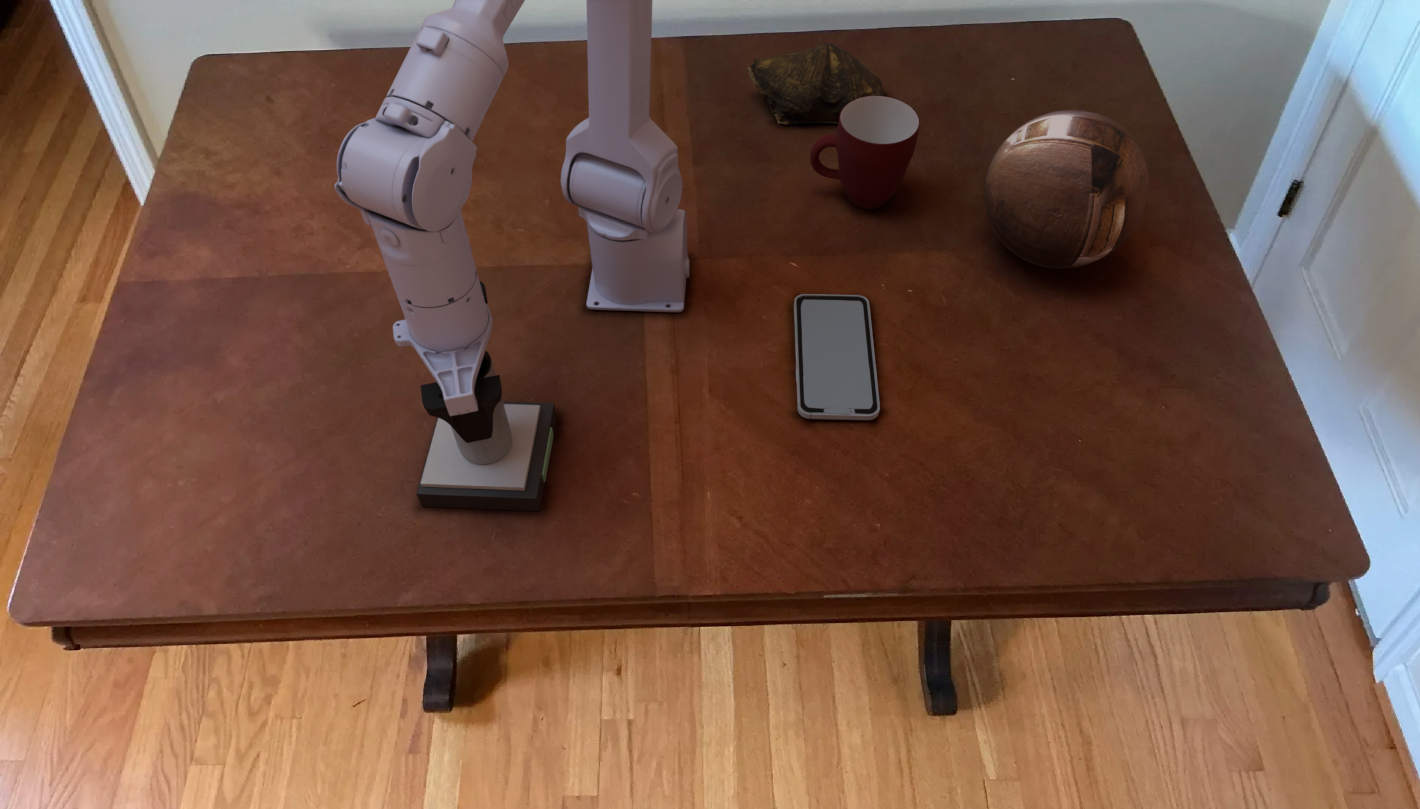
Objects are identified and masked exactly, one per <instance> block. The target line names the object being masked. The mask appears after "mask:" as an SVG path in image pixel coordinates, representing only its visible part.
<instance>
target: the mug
mask: <svg viewBox="0 0 1420 809" xmlns="http://www.w3.org/2000/svg"><path fill="white" fill-rule="evenodd" d="M920 124H921V122H920V117H919V115H918V113H917V112H916V110H915V109H913V107H911V106H910V105H909V104H907V103H906V102H904V101H902V100H900V99H897V98H894V97H890V96H885V95H884V96H867V97H862V98H858V99H855V100H853V101H851V102H849V103H848V104H847V105H846V106H845V107H844V108H843V109H842V110H841V113H840V116H839V123H838V124H837V128H836V133H834V134H831V133H830V134H825V135H823V136H821V137H819V138H818V139H816V141H815V142H814V144H813V145H812V147H811V149H810V154H809V162H810V165H811V167H812V169H813V170H814V171H815V172H816V173H817V174H818V175H820V176H822V177H824V178H828V179H834V180H839V181H840V184H841V186H842V188H843V189H844V191H845V193H846V195H847V197H848V199H849V200H850V202H851V203H852V204H853V205H854V206H856V207H858V208H861V209H866V210H874V209H877V208H880V207H882V206H883V205H884V204H886V203H887V202H888V201H889V199H891V198H892V196H893V195H894V194H895V193H896V192H897V190H898V189H899V188H900V186H901V185H902V182H903V179H904V177H905V175H906V172H907V170H908V167H909V165H910V164H911V163H910V162H911V160H912V159H913V156H914V154H915V150H916V146H917V142H918V137H919V132H920ZM827 148H835V149H836V154H837V162H838V163H837V164H838V169H835V168H832V167H828V166H826V165H824V164H823V163H822V162H821V160H820V154H821V153H822V151H823V150H824V149H827Z"/></svg>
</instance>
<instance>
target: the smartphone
mask: <svg viewBox="0 0 1420 809" xmlns="http://www.w3.org/2000/svg"><path fill="white" fill-rule="evenodd" d="M870 307H871V306H870V301H869V300H868V298H867V297H866V296H864V295H860V294H825V293H823V294H820V293H819V294H817V293H815V294H812V293H801V294H799V295H797V296H796V297H795V298H794V299H793V320H794V321H793V322H794V348H795V350H794V351H795V383H796V401H797V402H796V404H797V405H796V406H797V412H798V414H799V415H800V416H801V417H802V418H804V419H807V420H840V421H841V420H842V421H843V420H847V421H848V420H849V421H873V420H874V419H876V418H877V417H878V416H879V414H880V410H881V405H880V404H881V403H880V394H879V384H878V374H877V373H878V372H877V364H876V356H875V347H874V337H873V326H872V318H871V317H872V316H871V308H870Z"/></svg>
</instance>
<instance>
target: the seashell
mask: <svg viewBox="0 0 1420 809" xmlns="http://www.w3.org/2000/svg"><path fill="white" fill-rule="evenodd" d="M746 69H747V71H748V75H749V76H750V80H751V82H752V84H753V85H754V86H755V87H756V88H757V90H758V91H759V92H760V94H759V95H760V97H762V96H763V97H764V98H765V100H766V102H767V105H768V108H769V110H770V112H771V114H772V115H773V117H774V118H775V119H776V121H777V123H778V124H779V125H792V124H794V125H797V124H835V125H838V123H839V116H840V113H841V110H842V109H843V108H844V107H845V106H846V105H847V104H848V103H849V102H851V101H853V100H855V99H858V98H862V97H867V96H885V95H884V94H885V93H884V90H883V83H882V80H881V78H879V77H878V76H877V75H875V74H874V73H872V72H871V70H870V69H869V68H867V67H866V66H865V65H864V64H863V63H862V62H860V61H859V60H858V59H857V58H856V57H854V56H853V55H852V54H851V53H850V52H848V51H846V50H844V49H843V48H841V47H839V46H837V45H835V44H833V43H830V42H824V43H820V44H817V45H814V46H812V47H809V48H807V49H803V50H800V51H799V50H798V51H794V52H790V53H783V54H777V55H773V56H771V55H770V56H767V57H756V58H755V59H753V63H752V64H751V65H750V66H748V67H747V68H746Z"/></svg>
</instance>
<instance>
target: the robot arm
mask: <svg viewBox="0 0 1420 809" xmlns="http://www.w3.org/2000/svg"><path fill="white" fill-rule="evenodd" d="M525 1H526V0H454V1H453V4H452V7H451V8H448V9H446V10H443V11H438V12H435V13H432V14H429V15H428V16H426V17H425V18H424V19H423V22H422V23H421V26H420V28H419V29H418V31H417V34H416V35H415V38H414V40H413V42H412V44H411V46H410V48H409V50H408V52H407V53H406V56H405V58H404V60H403V62H402V64H401V66H400V67H399V70H398V72H397V74H396V76H395V78H394V80H393V82H392V84H391V86H390V88H389V90H388V92H387V94H386V96H385V98H384V99H383V101H382V103H381V105H380V107H379V109H378V111H377V113H376V115H375V117H373V118H371V119H368V120H366V121H364V122H361V123H359V124H357V125H355V126H354V127H353V128H351V129H350V130H349V132H347V134H346V135H345V137H344V138H343V140H342V142H341V144H340V147H339V149H338V152H337V157H336V175H337V181H335V183H334V186H333V187H334V190H335V193H336V194H337V195H338V197H339V199H341V201H343V202H344V203H345V204H347V205H348V206H351V207H354V208H357V210H358V211H359V212H360V214H361V216H362V220H363V222H364V224H365V225H367V226H371V229H372V232H373V234H374V238H375V240H376V243H377V246H378V248H379V251H380V254H381V255H382V259H383V262H384V264H385V268H386V270H387V273H388V276H389V278H390V282H391V284H392V287H393V289H394V293H395V296H396V297H397V301H398V303H399V306H400V309H401V311H402V314H403V317H404V319H400V320H397V321H395V322H394V323H393V325H392V334H393V339H394V342H395V345H396V346H398V347H402V348H403V347H412V348H413V349H414V350H415V352H416V353H417V355H418V356H419V359H420V360H421V361H422V362H423V364H424V365H425V367H426V368H427V370H428V371H429V373H430V374H431V376H432V377H433V379H434V382H429V383H425V384H421V385H420V394H421V402H422V405H423V408H424V410H425V411H426V412H427V414H428V415H429V416H431V417H434V418H436V419H437V418H440V419H442V420H444V421H446V422H447V423H448V424H449V425H450V426H451V427H452V428H453V429H454V430H455V431H456V432H457V434H458V435H459V436H460V437H461V438H462V439H463V440H464V441H465V442H466V443H470V442H475V441H480V440H485V439H490V438H491V437H492V433H493V413H494V409H495V407H496V406H497V404H498V403H499V402H500V401H501V396H502V395H503V388H502V382H501V375H500V374H496V375H495V376H490V377H485V378H480V379H477V375H478V372H479V369H480V366H481V363H482V360H483V356H484V353H485V350H486V351H487V348H488V347H487V346H488V343H489V340H490V337H491V334H492V332H493V327H494V326H493V324H494V323H493V322H494V321H493V316H492V313H491V310H490V308H489V305H488V296H487V288H486V285H485V283H484V282H483V281H481V280H480V278H479V274H478V270H477V266H476V263H475V258H474V256H473V251H472V247H471V243H470V239H469V235H468V232H467V229H466V225H465V221H464V217H463V213H462V209H463V208H464V206H465V204H466V203H467V201H468V199H469V195H470V192H471V188H472V182H473V180H472V179H473V166H474V162H475V159H476V157H477V151H478V147H477V145H476V144H475V143H474V142H473V141H474V139H475V137H476V135H477V133H478V131H479V128H480V127H481V125H482V123H483V121H484V119H485V116H486V115H487V112H488V111H489V108H490V107H491V104H492V102H493V100H494V98H495V96H496V94H497V92H498V90H499V88H500V86H501V84H502V81H503V80H504V77H505V76H506V73H507V71H508V69H509V63H510V62H509V57H508V54H507V50H506V48H505V43H504V36H505V34H506V32H507V31H508V29H509V28H510V26H511V24H512V22H513V21H514V19H515V18H516V16H517V14H518V13H519V11H520V9H521V8H522V6H523V5H524V3H525ZM652 34H653V0H586V42H587V44H586V45H587V46H586V47H587V87H588V88H587V91H588V92H587V93H588V95H587V96H588V117H587V118H586V119H584V120H582V121H581V122H579V123H578V124H577V125H576V126H575V127H573V129H572V130H571V131H570V133H569V134H568V135H567V137H566V139H565V154H564V161H563V163H562V166H561V171H560V188H561V191H562V192H561V193H562V196H563V198H564V200H565V201H566V203H568V204H570V205H573V206H577V212H578V217H579V218H581V219H583V220H584V221H585V222H586V228H587V237H588V244H589V252H590V259H591V260H590V261H591V268H592V269H591V274H590V280H589V287H588V292H587V299H586V304H585V305H586V308H587V309H588V310H596V311H624V312H625V311H626V312H627V311H629V312H653V313H654V312H655V313H656V312H657V313H681V312H683V311H684V309H685V298H686V288H687V278H688V279H689V277H690V266H691V265H690V264H691V263H690V261H691V260H690V258H689V255H688V227H687V226H688V225H687V211H686V210H685V209H682V208H681V209H680V208H679V206H680V204H681V200H682V195H683V185H684V184H683V178H682V174H681V171H680V168H679V155H678V154H679V147H678V146H677V144H676V143H675V142H674V141H673V140H672V139H671V138H670V137H669V136H668V135H667V134H666V133H665V132H664V131H663V130H662V128H660V127H659V126H658V125H657V124H656V123H655V122H654V121H653V119H652V118H651V116H650V111H651V110H650V109H651V108H650V107H651V76H652V75H651V74H652V72H651V70H652V36H653V35H652ZM435 380H436V382H435ZM502 397H503V396H502Z"/></svg>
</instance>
